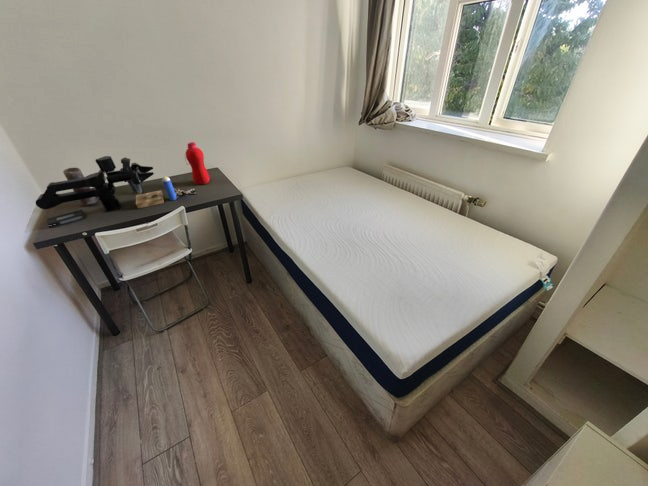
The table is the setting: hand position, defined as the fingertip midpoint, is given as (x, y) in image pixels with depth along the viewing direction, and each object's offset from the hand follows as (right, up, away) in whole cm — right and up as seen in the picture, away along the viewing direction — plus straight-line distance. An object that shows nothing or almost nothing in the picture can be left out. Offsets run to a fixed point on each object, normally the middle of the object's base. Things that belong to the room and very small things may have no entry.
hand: (153, 170), depth 150 cm
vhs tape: (-38, -28, -10) cm, 48 cm away
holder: (-5, -16, +6) cm, 18 cm away
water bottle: (+14, -1, +27) cm, 31 cm away
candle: (-39, -18, +5) cm, 43 cm away
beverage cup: (-19, -9, +16) cm, 27 cm away
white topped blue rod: (+6, -14, +8) cm, 18 cm away
